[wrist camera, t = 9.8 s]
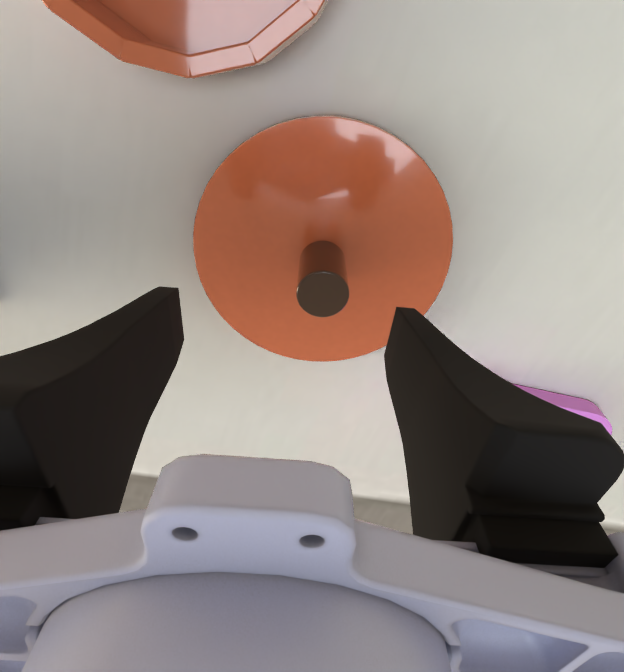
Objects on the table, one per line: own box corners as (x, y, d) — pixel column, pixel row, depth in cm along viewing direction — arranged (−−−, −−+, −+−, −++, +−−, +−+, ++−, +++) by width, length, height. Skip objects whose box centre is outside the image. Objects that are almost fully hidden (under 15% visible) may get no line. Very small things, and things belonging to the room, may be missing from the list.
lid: (237, 363, 26) (224, 416, 22) (158, 144, 19) (116, 166, 15) (445, 335, 25) (469, 387, 21) (450, 85, 17) (487, 93, 13)
